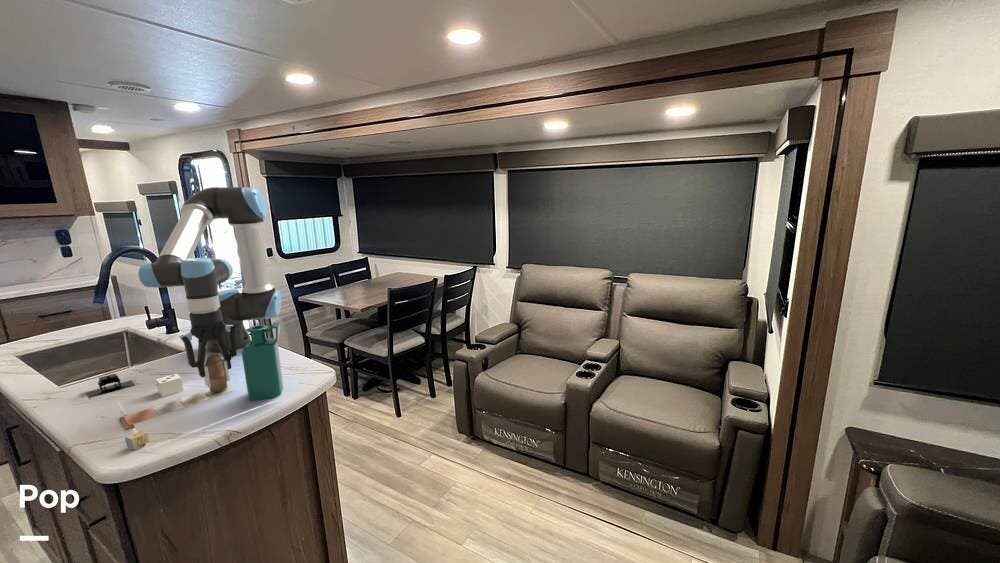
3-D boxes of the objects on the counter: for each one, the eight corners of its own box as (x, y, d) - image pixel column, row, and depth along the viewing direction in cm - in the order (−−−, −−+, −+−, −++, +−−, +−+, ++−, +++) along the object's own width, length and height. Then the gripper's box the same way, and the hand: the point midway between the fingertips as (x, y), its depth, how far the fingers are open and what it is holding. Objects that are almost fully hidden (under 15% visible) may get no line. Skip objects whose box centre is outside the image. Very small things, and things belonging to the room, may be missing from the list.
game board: (226, 384, 122) (226, 382, 122) (237, 392, 117) (236, 390, 117) (119, 418, 103) (119, 416, 103) (126, 429, 98) (125, 427, 98)
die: (179, 388, 121) (176, 373, 120) (183, 392, 118) (181, 377, 117) (158, 394, 117) (155, 379, 116) (163, 398, 114) (160, 383, 113)
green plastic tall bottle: (247, 404, 110) (236, 332, 106) (253, 391, 118) (243, 324, 113) (285, 397, 114) (276, 327, 109) (288, 385, 121) (280, 320, 117)
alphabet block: (126, 448, 90) (124, 436, 90) (143, 440, 93) (140, 429, 93) (133, 451, 89) (131, 439, 89) (149, 443, 92) (147, 432, 91)
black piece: (82, 402, 113) (79, 387, 112) (79, 395, 118) (75, 380, 117) (141, 386, 123) (138, 372, 122) (136, 379, 128) (133, 366, 127)
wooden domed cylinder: (224, 384, 120) (219, 350, 118) (229, 388, 117) (223, 354, 115) (208, 389, 117) (201, 355, 114) (212, 393, 114) (206, 358, 112)
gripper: (233, 302, 121) (244, 369, 126) (164, 314, 107) (179, 389, 112) (242, 305, 116) (253, 375, 121) (171, 319, 103) (186, 397, 108)
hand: (217, 382), depth 117 cm, fingers closed on wooden domed cylinder, 4 cm apart
